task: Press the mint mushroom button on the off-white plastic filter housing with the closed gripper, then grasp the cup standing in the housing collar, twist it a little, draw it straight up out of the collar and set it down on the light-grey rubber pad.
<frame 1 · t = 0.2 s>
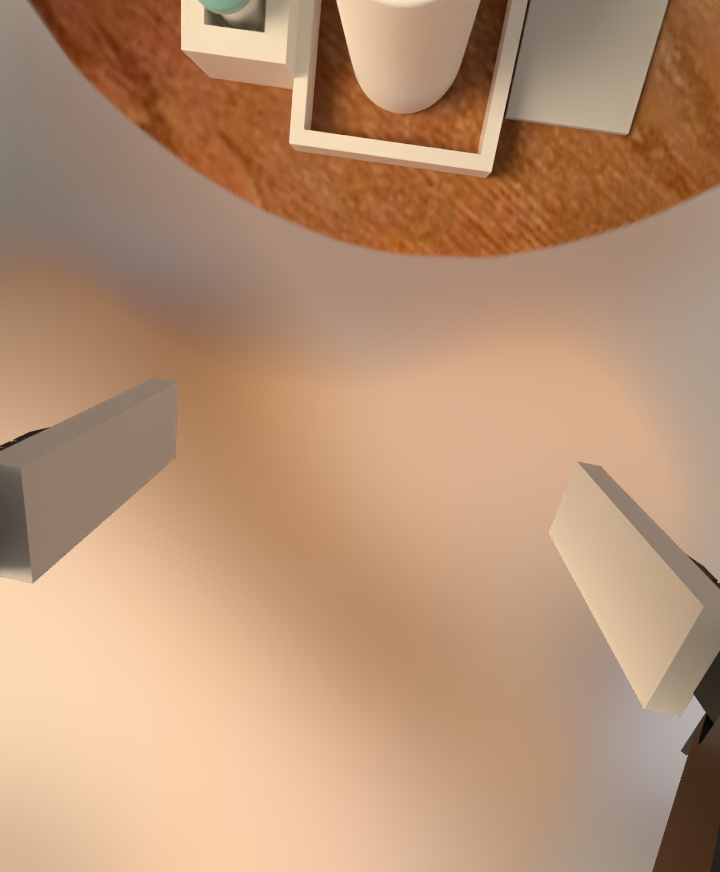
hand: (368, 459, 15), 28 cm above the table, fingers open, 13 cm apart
cup: (406, 48, 34), resting in housing
pad: (583, 53, 33), on the table
housing: (407, 47, 33), on the table
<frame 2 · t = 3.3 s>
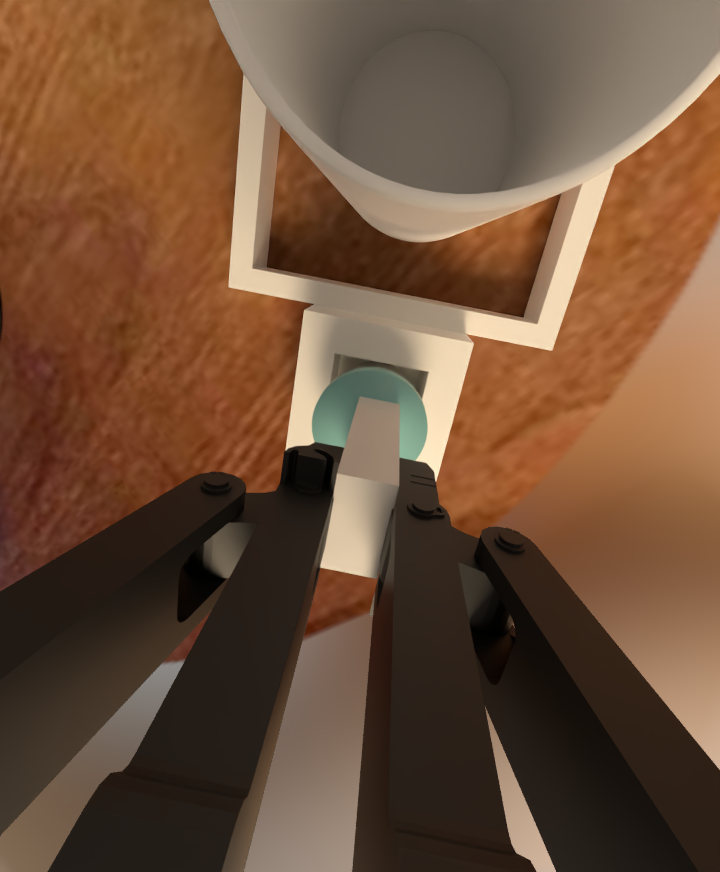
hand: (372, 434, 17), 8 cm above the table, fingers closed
cup: (424, 143, 21), resting in housing
housing: (424, 142, 20), on the table
mint mushroom button: (372, 409, 20), point 5 cm above the table, slide at 0.5 cm, touching gripper
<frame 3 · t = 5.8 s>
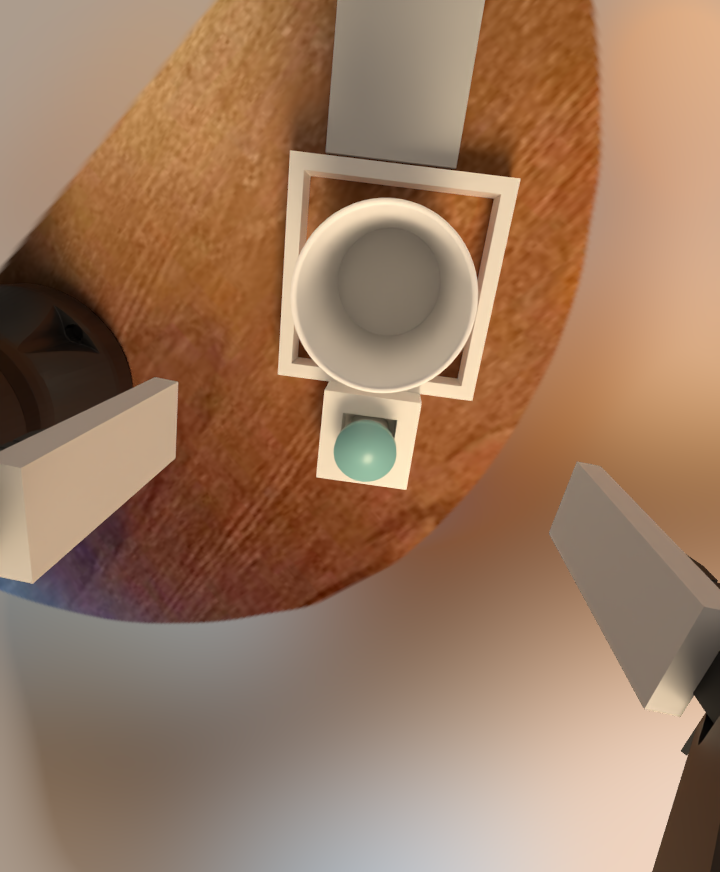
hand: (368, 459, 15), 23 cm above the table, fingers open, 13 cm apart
cup: (388, 283, 35), resting in housing
pad: (400, 83, 30), on the table
housing: (388, 283, 35), on the table
mint mushroom button: (366, 440, 34), point 5 cm above the table, slide at 0.9 cm
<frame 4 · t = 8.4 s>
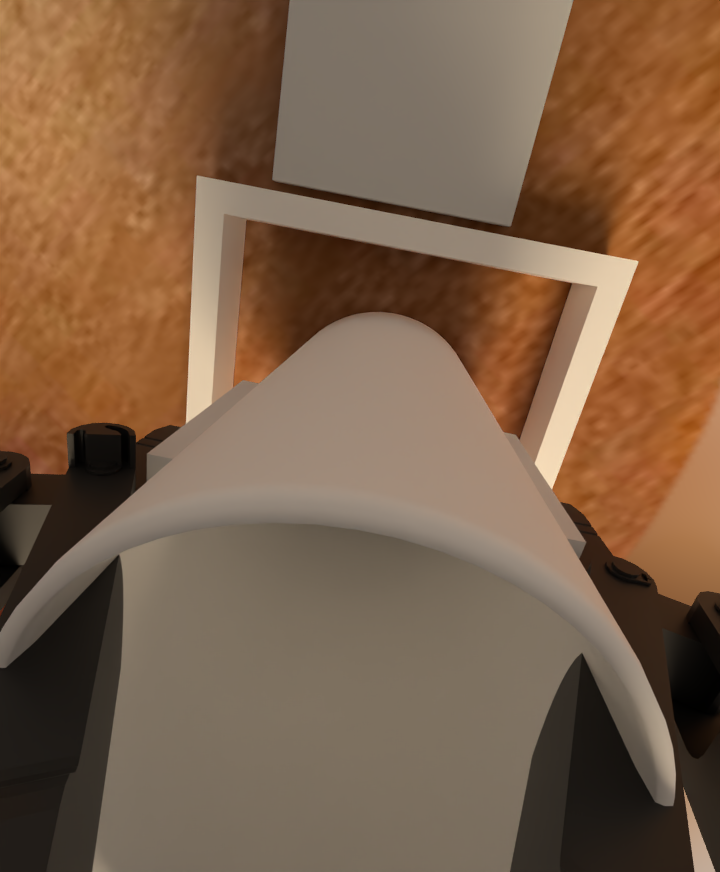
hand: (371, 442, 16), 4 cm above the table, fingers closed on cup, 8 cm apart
cup: (376, 405, 21), resting in housing, touching gripper
pad: (418, 60, 16), on the table
housing: (376, 406, 20), on the table
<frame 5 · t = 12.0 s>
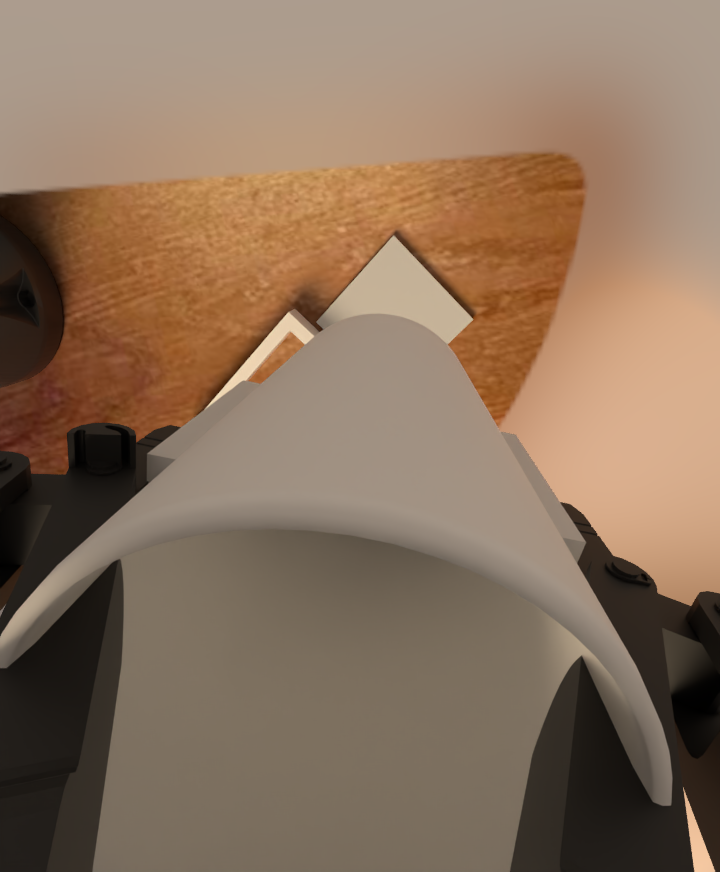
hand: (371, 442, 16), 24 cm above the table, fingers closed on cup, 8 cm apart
cup: (376, 407, 21), point 19 cm above the table, touching gripper
pad: (393, 320, 38), on the table
housing: (304, 428, 42), on the table
when the fingers open (6 cm above the table, at t = 15.8 s): cup drops 1 cm, resting on pad.
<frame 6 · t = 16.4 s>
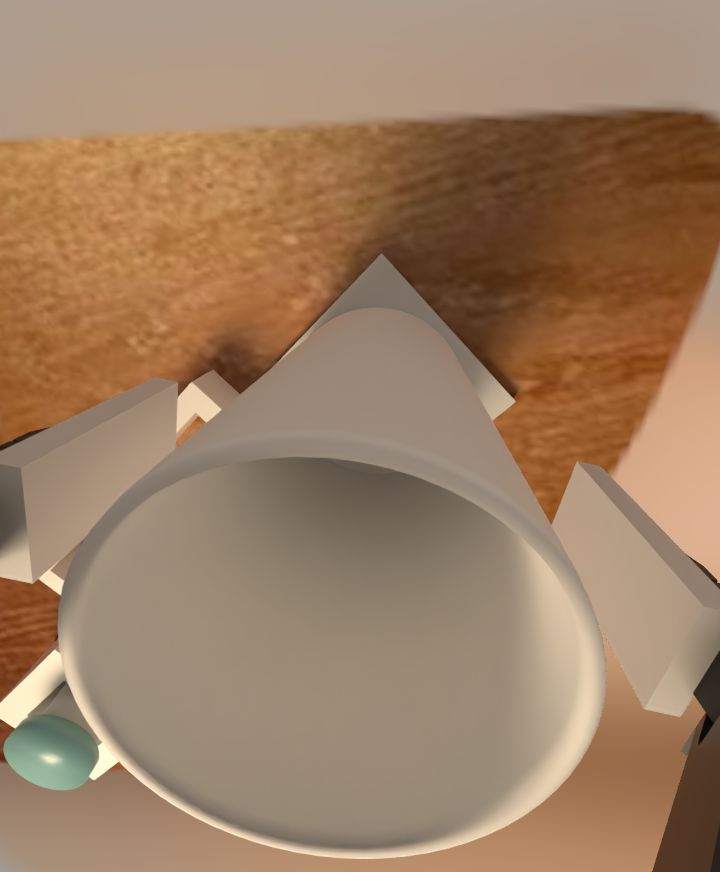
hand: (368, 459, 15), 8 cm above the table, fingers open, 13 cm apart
cup: (375, 395, 22), resting on pad
pad: (379, 394, 22), on the table
housing: (233, 552, 26), on the table
mint mushroom button: (78, 716, 25), point 5 cm above the table, slide at 0.9 cm
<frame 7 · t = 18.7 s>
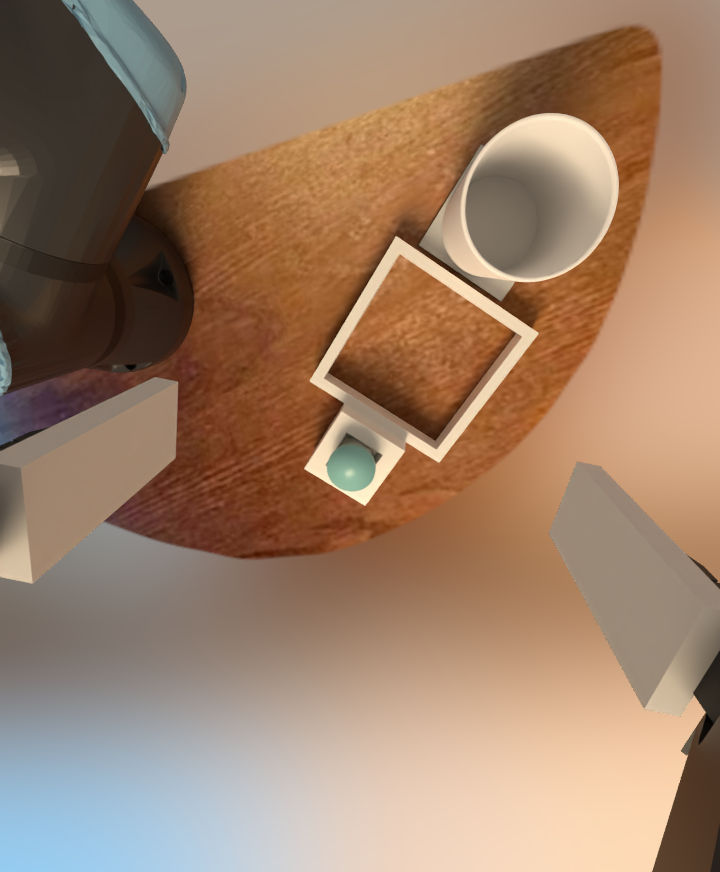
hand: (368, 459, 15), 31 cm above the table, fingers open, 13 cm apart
cup: (489, 226, 40), resting on pad
pad: (490, 227, 40), on the table
housing: (418, 353, 45), on the table
mint mushroom button: (353, 459, 44), point 5 cm above the table, slide at 0.9 cm
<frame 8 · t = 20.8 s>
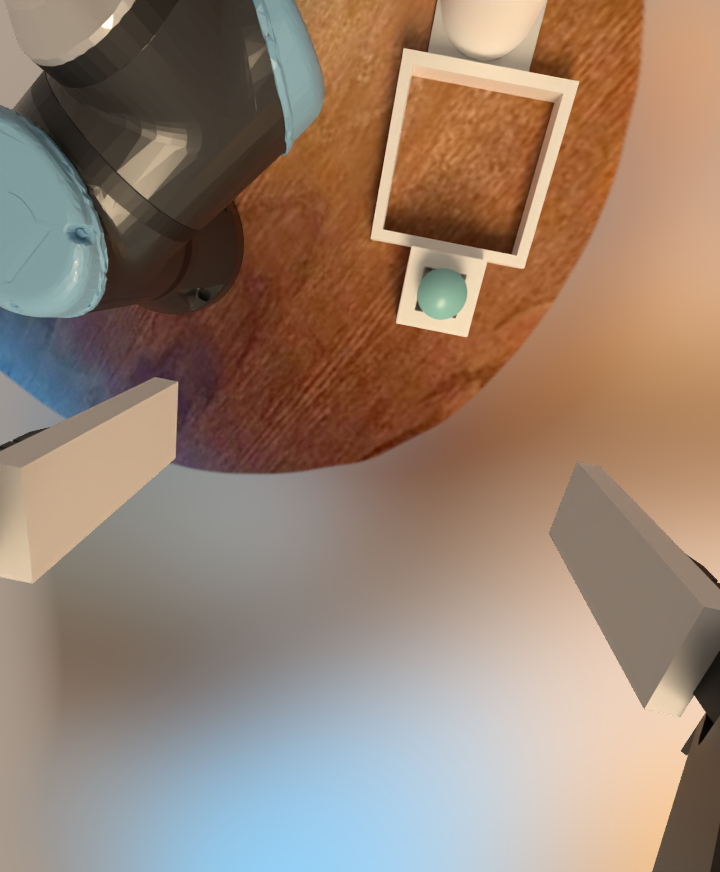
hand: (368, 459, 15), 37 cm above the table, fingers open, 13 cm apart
cup: (490, 2, 39), resting on pad
pad: (491, 3, 39), on the table
housing: (464, 170, 44), on the table
mint mushroom button: (440, 292, 43), point 5 cm above the table, slide at 0.9 cm
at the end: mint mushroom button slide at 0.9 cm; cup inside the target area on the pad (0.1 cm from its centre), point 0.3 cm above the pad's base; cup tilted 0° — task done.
